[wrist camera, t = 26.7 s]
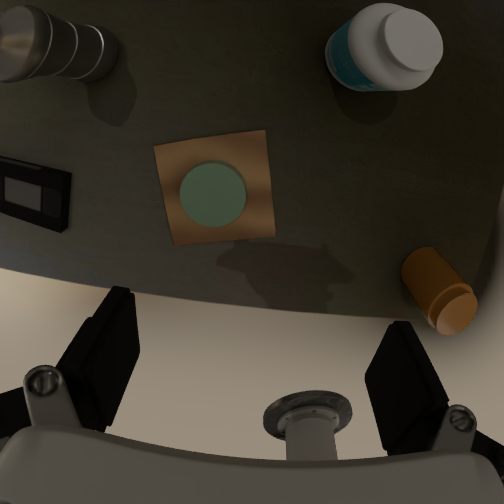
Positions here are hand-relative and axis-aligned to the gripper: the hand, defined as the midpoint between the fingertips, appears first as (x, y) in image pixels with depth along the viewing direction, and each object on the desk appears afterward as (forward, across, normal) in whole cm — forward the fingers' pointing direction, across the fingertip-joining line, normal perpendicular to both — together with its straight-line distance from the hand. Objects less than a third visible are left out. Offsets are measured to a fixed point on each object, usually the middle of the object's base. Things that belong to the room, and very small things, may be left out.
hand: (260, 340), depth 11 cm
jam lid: (+23, +5, +2) cm, 24 cm away
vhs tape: (+25, +31, +4) cm, 40 cm away
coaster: (+25, +5, +2) cm, 26 cm away
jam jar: (+25, -23, +8) cm, 35 cm away
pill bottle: (+25, -8, -15) cm, 30 cm away
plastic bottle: (+25, +20, -13) cm, 34 cm away
